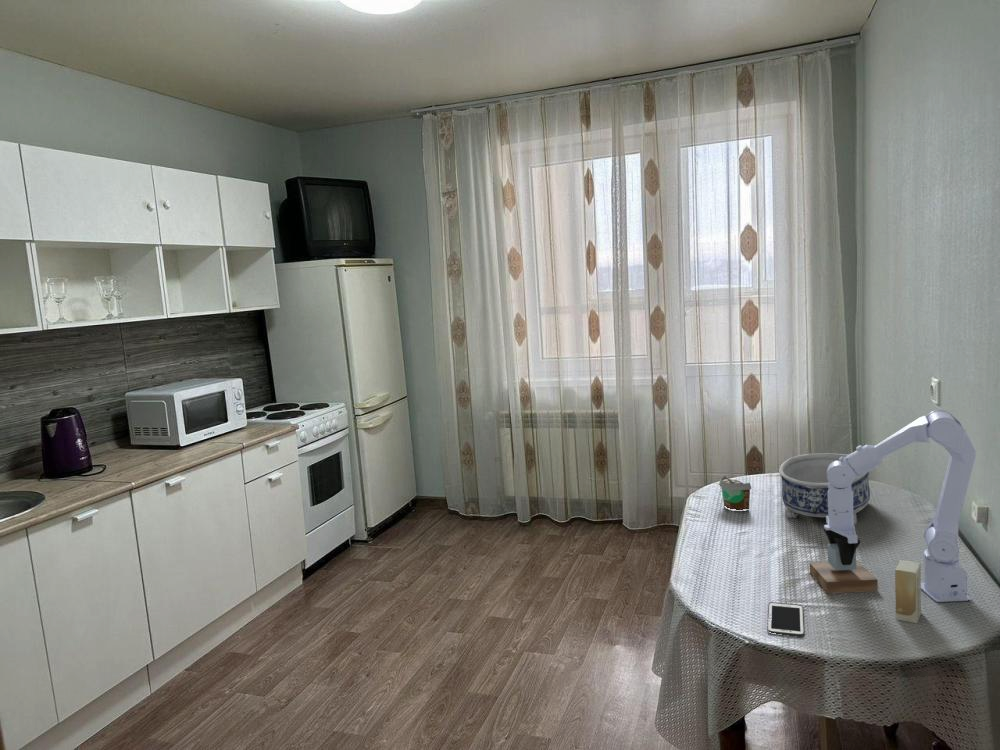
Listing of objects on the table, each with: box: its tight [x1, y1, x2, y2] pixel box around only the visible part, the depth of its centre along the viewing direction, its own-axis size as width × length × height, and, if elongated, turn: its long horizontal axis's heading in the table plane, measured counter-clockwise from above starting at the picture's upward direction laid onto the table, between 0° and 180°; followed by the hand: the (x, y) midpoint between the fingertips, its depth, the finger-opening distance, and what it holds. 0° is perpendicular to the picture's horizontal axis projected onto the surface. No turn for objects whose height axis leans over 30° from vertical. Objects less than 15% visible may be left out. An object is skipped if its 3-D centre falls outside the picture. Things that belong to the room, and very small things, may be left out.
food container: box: [718, 475, 752, 510], centre depth 237 cm, size 12×6×10 cm, turn 25°
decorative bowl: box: [778, 452, 871, 526], centre depth 229 cm, size 42×27×15 cm, turn 148°
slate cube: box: [827, 543, 857, 570], centre depth 177 cm, size 5×5×5 cm
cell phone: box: [767, 601, 805, 638], centre depth 162 cm, size 8×15×1 cm, turn 158°
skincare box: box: [894, 559, 922, 624], centre depth 158 cm, size 6×4×12 cm
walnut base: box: [809, 559, 879, 594], centre depth 178 cm, size 12×12×3 cm
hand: (842, 559), depth 178 cm, fingers open, 5 cm apart
